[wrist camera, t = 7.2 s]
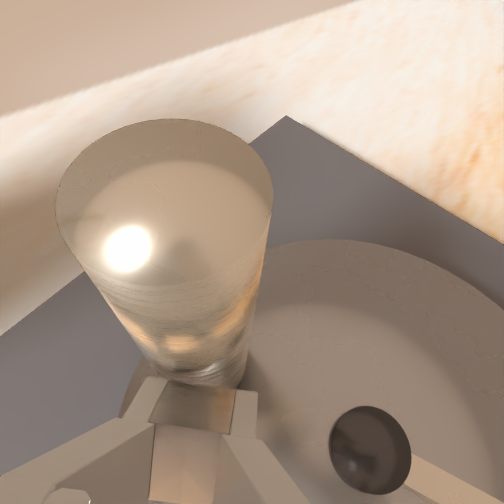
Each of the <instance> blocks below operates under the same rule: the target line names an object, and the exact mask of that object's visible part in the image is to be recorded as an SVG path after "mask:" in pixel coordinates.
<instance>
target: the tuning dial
mask: <svg viewBox="0 0 504 504" xmlns="http://www.w3.org/2000/svg"><path fill="white" fill-rule="evenodd" d="M272 205H273V187H272V181H271V178H270V175H269V172H268V170H267V168H266V166H265V164H264V162H263V161H262V159H261V158H260V157H259V155H258V154H257V153H256V152H255V151H254V150H253V149H252V148H251V147H250V146H249V145H248V144H247V143H246V142H244V141H243V140H242V139H241V138H239V137H237V136H236V135H234V134H232V133H231V132H229V131H226V130H224V129H222V128H220V127H217V126H214V125H211V124H208V123H204V122H199V121H194V120H187V119H158V120H149V121H145V122H140V123H135V124H132V125H129V126H125V127H123V128H120V129H118V130H115V131H113V132H111V133H109V134H107V135H105V136H103V137H102V138H100V139H98V140H97V141H95V142H94V143H92V144H91V145H90V146H89V147H87V148H86V149H85V150H84V151H82V152H81V154H80V155H79V156H78V157H77V158H76V159H75V160H74V161H73V162H72V164H71V165H70V166H69V168H68V169H67V171H66V172H65V174H64V176H63V178H62V180H61V182H60V185H59V188H58V191H57V196H56V201H55V214H56V221H57V225H58V228H59V231H60V234H61V236H62V237H63V239H64V241H65V243H66V244H67V246H68V247H69V249H70V250H71V252H72V253H73V255H74V256H75V257H76V259H77V260H78V262H79V263H80V265H81V266H82V268H83V269H84V270H85V272H86V273H87V275H88V276H89V278H90V279H91V280H92V282H93V283H94V285H95V286H96V288H97V289H98V290H99V292H100V293H101V295H102V296H103V298H104V299H105V300H106V302H107V303H108V305H109V306H110V308H111V309H112V310H113V312H114V313H115V315H116V316H117V318H118V319H119V320H120V322H121V323H122V325H123V326H124V328H125V329H126V330H127V332H128V333H129V335H130V336H131V338H132V339H133V340H134V342H135V343H136V345H137V346H138V348H139V349H140V350H141V352H142V353H143V355H142V357H141V359H140V361H139V363H138V365H137V367H136V369H135V372H134V374H133V376H132V378H131V381H130V383H129V385H128V387H127V390H126V392H125V396H124V399H123V402H122V405H121V408H120V412H119V415H118V418H122V417H123V416H124V414H125V412H126V411H127V409H128V407H129V406H130V404H131V402H132V401H133V399H134V397H135V396H136V394H137V392H138V391H139V389H140V387H141V386H142V384H143V382H144V381H145V379H146V378H147V377H148V376H155V377H162V378H168V379H174V380H180V381H185V382H191V383H197V384H203V385H208V386H213V387H221V388H228V389H236V391H237V389H238V390H247V391H256V392H257V393H258V405H257V424H256V439H258V440H262V441H263V442H264V443H265V445H266V446H267V447H268V449H269V450H270V451H271V452H272V454H273V455H274V456H275V458H276V459H277V460H278V462H279V463H280V464H281V466H282V467H283V468H284V470H285V471H286V472H287V473H288V475H289V476H290V477H291V479H292V480H293V481H294V483H295V484H296V485H297V487H298V488H299V489H300V491H301V492H302V493H303V494H304V496H305V497H306V498H307V500H308V501H309V502H310V504H504V310H503V309H502V308H500V307H499V306H498V305H497V304H496V303H495V302H493V301H492V300H491V299H489V298H488V297H487V296H485V295H484V294H483V293H481V292H480V291H479V290H477V289H476V288H475V287H473V286H472V285H470V284H469V283H467V282H465V281H464V280H462V279H460V278H459V277H457V276H455V275H454V274H452V273H451V272H449V271H447V270H445V269H443V268H441V267H439V266H437V265H435V264H433V263H431V262H429V261H427V260H425V259H422V258H420V257H417V256H414V255H411V254H409V253H406V252H403V251H401V250H397V249H394V248H390V247H386V246H382V245H378V244H374V243H368V242H361V241H355V240H342V239H317V240H303V241H297V242H292V243H287V244H281V245H277V246H274V247H271V248H268V249H265V248H266V242H267V236H268V230H269V224H270V218H271V212H272ZM235 396H236V394H235ZM146 504H178V503H170V502H162V501H154V500H148V502H147V503H146Z"/></svg>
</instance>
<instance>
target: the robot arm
mask: <svg viewBox="0 0 504 504" xmlns="http://www.w3.org/2000/svg"><path fill="white" fill-rule="evenodd" d="M235 394H236V396H235ZM257 405H258V393H257V392H256V391H247V390H238V389H237V391H236V389H228V388H221V387H213V386H208V385H203V384H197V383H191V382H185V381H180V380H174V379H168V378H162V377H155V376H148V377H147V378H146V379H145V381H144V382H143V384H142V386H141V387H140V389H139V391H138V392H137V394H136V396H135V397H134V399H133V401H132V402H131V404H130V406H129V407H128V409H127V411H126V412H125V414H124V416H123V417H122V418H114V419H112V420H110V421H108V422H106V423H104V424H102V425H100V426H98V427H96V428H94V429H92V430H90V431H88V432H86V433H84V434H82V435H80V436H78V437H76V438H74V439H72V440H70V441H68V442H66V443H64V444H62V445H61V446H59V447H57V448H55V449H53V450H51V451H49V452H47V453H45V454H43V455H41V456H39V457H37V458H35V459H33V460H31V461H29V462H27V463H25V464H23V465H21V466H19V467H17V468H15V469H13V470H11V471H9V472H7V473H5V474H3V475H2V476H1V477H0V504H146V503H147V502H148V500H154V501H162V502H170V503H178V504H310V502H309V501H308V500H307V498H306V497H305V496H304V494H303V493H302V492H301V491H300V489H299V488H298V487H297V485H296V484H295V483H294V481H293V480H292V479H291V477H290V476H289V475H288V473H287V472H286V471H285V470H284V468H283V467H282V466H281V464H280V463H279V462H278V460H277V459H276V458H275V456H274V455H273V454H272V452H271V451H270V450H269V449H268V447H267V446H266V445H265V443H264V442H263V441H262V440H258V439H256V424H257Z"/></svg>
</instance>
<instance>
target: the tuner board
mask: <svg viewBox="0 0 504 504" xmlns="http://www.w3.org/2000/svg"><path fill="white" fill-rule="evenodd" d="M248 145H249V146H250V147H251V148H252V149H253V150H254V151H255V152H256V153H257V154H258V155H259V157H260V158H261V159H262V161H263V162H264V164H265V166H266V168H267V170H268V172H269V175H270V178H271V181H272V187H273V205H272V212H271V218H270V224H269V230H268V236H267V242H266V248H265V249H268V248H271V247H274V246H277V245H281V244H287V243H292V242H297V241H303V240H317V239H342V240H355V241H361V242H368V243H374V244H378V245H382V246H386V247H390V248H394V249H397V250H401V251H403V252H406V253H409V254H411V255H414V256H417V257H420V258H422V259H425V260H427V261H429V262H431V263H433V264H435V265H437V266H439V267H441V268H443V269H445V270H447V271H449V272H451V273H452V274H454V275H455V276H457V277H459V278H460V279H462V280H464V281H465V282H467V283H469V284H470V285H472V286H473V287H475V288H476V289H477V290H479V291H480V292H481V293H483V294H484V295H485V296H487V297H488V298H489V299H491V300H492V301H493V302H495V303H496V304H497V305H498V306H499V307H500V308H502V309H503V310H504V245H503V244H502V243H500V242H498V241H497V240H495V239H493V238H491V237H490V236H488V235H486V234H485V233H483V232H481V231H480V230H478V229H476V228H475V227H473V226H471V225H470V224H468V223H466V222H465V221H463V220H461V219H460V218H458V217H456V216H454V215H453V214H451V213H449V212H448V211H446V210H444V209H443V208H441V207H439V206H438V205H436V204H434V203H433V202H431V201H429V200H428V199H426V198H424V197H423V196H421V195H419V194H417V193H416V192H414V191H412V190H411V189H409V188H407V187H406V186H404V185H402V184H401V183H399V182H397V181H396V180H394V179H392V178H391V177H389V176H387V175H386V174H384V173H382V172H381V171H379V170H377V169H375V168H374V167H372V166H370V165H369V164H367V163H365V162H364V161H362V160H360V159H359V158H357V157H355V156H354V155H352V154H350V153H349V152H347V151H345V150H344V149H342V148H340V147H338V146H337V145H335V144H333V143H332V142H330V141H328V140H327V139H325V138H323V137H322V136H320V135H318V134H317V133H315V132H313V131H312V130H310V129H308V128H307V127H305V126H303V125H301V124H300V123H298V122H296V121H295V120H293V119H291V118H290V117H288V116H285V117H283V118H282V119H281V120H279V121H278V122H277V123H276V124H274V125H273V126H272V127H270V128H269V129H268V130H267V131H265V132H264V133H263V134H261V135H260V136H259V137H257V138H256V139H255V140H254V141H252V142H251V143H250V144H248ZM142 355H143V353H142V352H141V350H140V349H139V348H138V346H137V345H136V343H135V342H134V340H133V339H132V338H131V336H130V335H129V333H128V332H127V330H126V329H125V328H124V326H123V325H122V323H121V322H120V320H119V319H118V318H117V316H116V315H115V313H114V312H113V310H112V309H111V308H110V306H109V305H108V303H107V302H106V300H105V299H104V298H103V296H102V295H101V293H100V292H99V290H98V289H97V288H96V286H95V285H94V283H93V282H92V280H91V279H90V278H89V276H88V275H87V273H86V272H85V271H84V272H83V273H82V274H80V275H79V276H78V277H77V278H75V279H74V280H73V281H71V282H70V283H69V284H68V285H66V286H65V287H64V288H62V289H61V290H60V291H58V292H57V293H56V294H55V295H53V296H52V297H51V298H49V299H48V300H47V301H46V302H44V303H43V304H42V305H40V306H39V307H38V308H37V309H35V310H34V311H33V312H31V313H30V314H29V315H27V316H26V317H25V318H24V319H22V320H21V321H20V322H18V323H17V324H16V325H15V326H13V327H12V328H11V329H9V330H8V331H7V332H5V333H4V334H3V335H2V336H0V477H1V476H2V475H3V474H5V473H7V472H9V471H11V470H13V469H15V468H17V467H19V466H21V465H23V464H25V463H27V462H29V461H31V460H33V459H35V458H37V457H39V456H41V455H43V454H45V453H47V452H49V451H51V450H53V449H55V448H57V447H59V446H61V445H62V444H64V443H66V442H68V441H70V440H72V439H74V438H76V437H78V436H80V435H82V434H84V433H86V432H88V431H90V430H92V429H94V428H96V427H98V426H100V425H102V424H104V423H106V422H108V421H110V420H112V419H114V418H118V415H119V412H120V408H121V405H122V402H123V399H124V396H125V392H126V390H127V387H128V385H129V383H130V381H131V378H132V376H133V374H134V372H135V369H136V367H137V365H138V363H139V361H140V359H141V357H142Z"/></svg>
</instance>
